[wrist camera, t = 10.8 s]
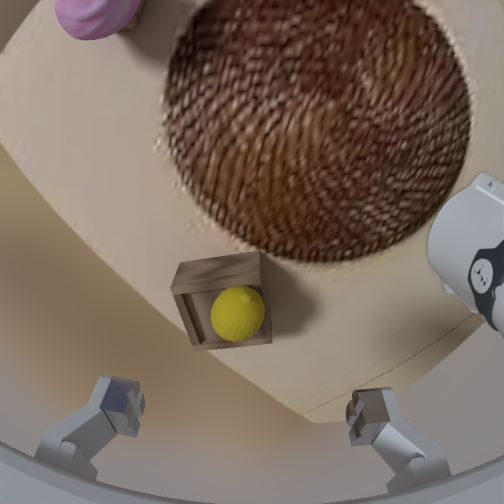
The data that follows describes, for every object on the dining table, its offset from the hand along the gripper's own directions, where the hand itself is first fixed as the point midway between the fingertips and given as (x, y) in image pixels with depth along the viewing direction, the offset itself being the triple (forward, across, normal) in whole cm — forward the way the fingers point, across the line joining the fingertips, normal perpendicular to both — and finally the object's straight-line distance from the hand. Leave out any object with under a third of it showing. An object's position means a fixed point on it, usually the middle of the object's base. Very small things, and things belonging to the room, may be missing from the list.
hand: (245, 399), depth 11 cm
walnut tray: (+27, +3, +14) cm, 31 cm away
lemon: (+21, +2, +16) cm, 26 cm away
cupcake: (+27, +15, -21) cm, 37 cm away
